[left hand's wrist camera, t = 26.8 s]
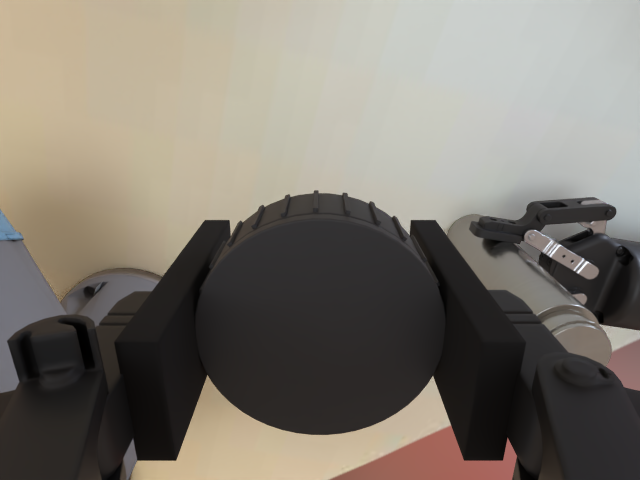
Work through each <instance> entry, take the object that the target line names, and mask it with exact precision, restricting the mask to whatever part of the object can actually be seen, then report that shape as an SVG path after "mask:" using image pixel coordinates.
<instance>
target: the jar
mask: <svg viewBox="0 0 640 480" xmlns="http://www.w3.org/2000/svg"><path fill="white" fill-rule="evenodd" d="M480 217H485V216H482V215H477V214H472V215H467V216H464V217H462V218H460V219H458V220H457V221H456V222H455V223H454V224H453V225H452V226H451V228H450V229H449V231H448V234H447V237H448V238H449V239H450V241H451V242H452V243H453V245H454V246H455V247H456V249H457V250H458V251H459V253H460V254H461V255H462V257H463V258H464V259H465V261H466V262H467V263H468V265H469V266H470V267H471V269H472V270H473V271H474V273H475V274H476V275H477V277H478V278H479V279H480V281H481V282H482V283H483V285H484V286H485V287H486V289H487V290H507V291H509V292H511V293H512V294H514V295H516V296H517V297H519V298H521V299H522V300H523V301H524V302H525V303H526V304H527V305H528V306H529V307H530V309H531V310H532V311H533V314H536V316H537V317H538V318H539V319H540V320H541V321H542V324H544V325H545V326H546V327H547V328H548V329H549V331H550V332H551V333H552V334H553V335H554V336H555V337H556V339H557V340H558V341H559V342H560V343H561V344H562V345H563V347H564V348H565V349H566V350H567V351H568V352H569V353H573V354H577V355H581V356H585V357H588V358H590V359H592V360H594V361H597V362H599V363H601V364H602V365H604V366H605V367H606V366H607V364H608V362H609V360H610V357H611V352H612V348H611V343H610V340H609V338H608V337H607V335H606V333H605V331H604V330H603V329H602V328H601V327H600V326H599V322H598V320H597V318H596V317H595V315H594V314H593V313H592V312H591V311H590V310H588V309H587V308H586V307H585V306H584V305H583V304H582V303H581V302H580V301H579V300H577V299H576V298H575V297H574V296H573V295H572V294H571V293H570V292H569V291H568V290H567V289H565V288H564V287H563V286H562V285H561V284H560V283H559V282H558V281H557V280H556V279H554V278H553V277H552V276H551V275H550V274H549V273H548V272H547V271H546V270H545V269H543V268H542V267H541V266H540V265H539V264H538V263H537V262H536V261H535V260H534V259H532V258H531V257H530V256H529V255H528V254H527V253H526V252H525V251H524V250H523V249H521V248H520V247H519V246H518V245H517V244H516V243H510V242H503V241H497V240H491V239H484V238H479V237H476V236H474V235H473V234H472V233H471V231H470V230H469V227H470V224H471V221H476V222H478V221H479V218H480Z"/></svg>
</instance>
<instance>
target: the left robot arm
mask: <svg viewBox="0 0 640 480" xmlns="http://www.w3.org/2000/svg"><path fill="white" fill-rule="evenodd" d="M411 235H413V236H414V237H415V239H416V240H417V242H418V244H419V246H420V248H421V250H422V251H423V253H424V255H425V257H426V259H427V261H428V263H429V265H430V267H431V269H432V270H433V272H434V274H435V276H436V278H437V280H438V281H439V284H440V286H438V288H439V291H440V294H441V297H442V300H443V303H444V308H445V314H446V325H445V334H444V343H443V351H442V356H441V360H440V362H439V364H438V366H437V369H436V371H435V373H434V374H433V376H434V379H435V382H436V385H437V387H438V390H439V393H440V396H441V398H442V401H443V404H444V407H445V409H446V412H447V415H448V418H449V420H450V423H451V426H452V429H453V431H454V434H455V437H456V439H457V442H458V445H459V448H460V450H461V453H462V456H463V459H464V460H503V457H504V452H505V447H506V442H507V437H508V439H509V441H510V443H511V445H512V447H513V449H514V451H515V453H516V455H517V459H516V464H515V469H514V473H513V478H512V480H640V391H637V390H632V389H628V388H625V387H623V385H622V383H621V381H620V380H619V379H618V377H617V376H616V375H615V374H614V372H613V371H611V370H610V369H608V368H607V367H605V366H604V365H602V364H601V363H599V362H597V361H594V360H592V359H590V358H588V357H585V356H581V355H577V354H573V353H569V352H568V351H567V350H566V349H565V348H564V347H563V345H562V344H561V343H560V342H559V341H558V340H557V339H556V337H555V336H554V335H553V334H552V333H551V332H550V331H549V329H548V328H547V327H546V326H545V325H544V324H542V321H541V320H540V319H539V318H538V317H537V316H536V314H533V311H532V310H531V309H530V307H529V306H528V305H527V304H526V303H525V302H524V301H523V300H522V299H521V298H519V297H517V296H516V295H514V294H512V293H511V292H509V291H507V290H487V289H486V287H485V286H484V285H483V283H482V282H481V281H480V279H479V278H478V277H477V275H476V274H475V273H474V271H473V270H472V269H471V267H470V266H469V265H468V263H467V262H466V261H465V259H464V258H463V257H462V255H461V254H460V253H459V251H458V250H457V249H456V247H455V246H454V245H453V243H452V242H451V241H450V239H449V238H448V237H447V235H446V234H445V233H444V231H443V230H442V229H441V227H440V226H439V225H438V223H437V222H436V220H411V226H410V236H411ZM230 237H231V235H230V222H229V220H205V221H204V222H203V224H202V225H201V226H200V228H199V229H198V230H197V232H196V233H195V234H194V236H193V237H192V238H191V240H190V241H189V242H188V244H187V245H186V246H185V248H184V249H183V250H182V252H181V253H180V254H179V256H178V257H177V258H176V260H175V261H174V262H173V264H172V265H171V266H170V268H169V269H168V270H167V272H166V273H165V274H164V276H163V277H160V276H158V275H156V274H153V273H150V272H147V271H142V270H137V269H129V268H116V269H109V270H104V271H101V272H97V273H95V274H93V275H90V276H89V277H87V278H85V279H84V280H82V281H81V282H79V283H78V284H77V285H76V286H75V287H74V288H73V289H72V290H71V291H70V292H68V293H67V295H66V296H65V297H64V298H63V300H62V301H61V303H60V302H59V300H58V299H57V297H56V295H55V294H54V292H53V291H52V289H51V287H50V286H49V284H48V283H47V281H46V279H45V278H44V276H43V275H42V273H41V271H40V270H39V268H38V267H37V265H36V263H35V262H34V260H33V258H32V257H31V255H30V253H29V251H28V250H27V248H26V246H25V245H24V243H23V241H22V240H24V239H23V236H22V235H21V233H19V232H16V231H15V229H14V228H13V226H12V225H11V224H10V222H9V221H8V219H7V218H6V217H5V215H4V214H3V212H2V211H1V210H0V480H130V475H131V473H132V471H133V468H134V466H135V464H136V462H137V460H176V459H177V457H178V454H179V451H180V448H181V446H182V443H183V440H184V438H185V435H186V432H187V429H188V427H189V424H190V421H191V418H192V416H193V413H194V410H195V407H196V405H197V402H198V399H199V396H200V394H201V391H202V388H203V385H204V383H205V380H206V377H207V373H206V371H205V369H204V367H203V364H202V362H201V360H200V357H199V354H198V347H197V338H196V330H195V311H196V306H197V301H198V298H199V296H200V293H199V289H200V287H201V286H202V284H203V282H204V280H205V278H206V276H207V275H208V273H209V271H210V268H209V266H210V264H211V263H212V261H213V259H214V257H215V255H216V254H217V252H218V250H219V248H220V246H221V245H222V243H223V241H225V242H227V241H228V240H229V238H230Z"/></svg>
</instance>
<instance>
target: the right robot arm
mask: <svg viewBox="0 0 640 480" xmlns="http://www.w3.org/2000/svg"><path fill="white" fill-rule="evenodd" d="M615 215H616V208H615V207H613V206H611V205H609V204H607V203H605V202H603V201H601V200H599V199H597V198H594V197H590V198H577V199H563V200H549V201H535V202H531V203H530V204H529V205H528V206H527V212H526V214H525V215H524V216H523V217H522V218H521V219H519V220H516V221H513V220H507V219H501V218H494V217H488V216H485V217H480V218H479V221H478V222H476V221H471V224H470V227H469V230H470V231H471V233H472V234H473V235H474V236H476V237H479V238H484V239H491V240H497V241H503V242H510V243H516V244H520V242H521V241H525V242H526V243H528V244H529V245H531V246H533V247H535V248H536V249H538V250H540V251H542V252H541V254H540V257H539V265H540V266H541V267H542V268H543V269H545V270H546V271H547V272H548V273H549V274H550V275H551V276H552V277H553V278H554V279H556V280H557V281H558V282H559V283H560V284H561V285H562V286H563V287H564V288H565V289H567V290H568V291H569V292H570V293H571V294H572V295H573V296H574V297H575V298H576V299H577V300H579V301H580V302H581V303H582V304H583V305H584V306H585V307H586V308H587V309H588V310H590V311H591V312H592V313H593V314H594V315H595V317H596V318H597V320H598V322H599V324H601V325H607V326H614V327H620V328H627V329H634V330H640V243H639V242H633V241H627V240H621V239H615V238H610V237H609V236H607V235H606V234H605V228H606V222H607V220H610V219H612V218H613V217H614V216H615ZM576 222H577V223H579V224H580V225H582V226H584V227H587V230H585V231H583V232H580V233H578V234H576V235H573V236H571V237H568V238H566V239H564V240H561V241H557V240H556V239H554V238H552V237H551V236H549V235H547V234H545V233H544V232H542V231H541V230H542V229H543V227H544V226H545V225H548V224H562V223H576Z"/></svg>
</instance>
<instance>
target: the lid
mask: <svg viewBox="0 0 640 480" xmlns="http://www.w3.org/2000/svg"><path fill="white" fill-rule="evenodd" d="M209 268H210V271H209V273H208V275H207V276H206V278H205V280H204V282H203V284H202V286H201V287H200V289H199V293H200V296H199V298H198V301H197V306H196V311H195V330H196V338H197V347H198V354H199V357H200V360H201V362H202V364H203V367H204V369H205V371H206V373H207V374H208V376H209V378H210V379H211V381H212V383H213V384H214V385H215V386H216V388H217V389H218V390H219V391H220V393H221V394H222V395H223V396H224V397H225V398H226V399H227V400H228V401H229V402H231V403H232V404H233V405H234V406H236V407H237V408H238V409H240V410H241V411H242V412H244V413H245V414H247V415H249V416H250V417H252V418H254V419H256V420H258V421H260V422H262V423H265V424H267V425H269V426H272V427H275V428H278V429H281V430H285V431H290V432H295V433H301V434H310V435H330V434H341V433H346V432H351V431H356V430H359V429H363V428H366V427H369V426H372V425H374V424H376V423H379V422H381V421H383V420H385V419H387V418H389V417H391V416H392V415H394V414H396V413H397V412H399V411H400V410H401V409H403V408H404V407H405V406H407V405H408V404H409V403H410V402H411V401H412V400H414V399H415V398H416V397H417V396H418V395H419V394H420V392H421V391H422V390H423V389H424V388H425V386H426V385H427V384H428V382H429V381H430V379H431V378H432V376H433V374H434V373H435V371H436V369H437V366H438V364H439V362H440V360H441V356H442V351H443V343H444V334H445V325H446V314H445V308H444V303H443V300H442V297H441V294H440V291H439V288H438V286H440V284H439V281H438V280H437V278H436V276H435V274H434V272H433V270H432V269H431V267H430V265H429V263H428V261H427V259H426V257H425V255H424V253H423V251H422V250H421V248H420V246H419V244H418V242H417V240H416V239H415V237H414V236H413V235H411V236H409V234H408V233H407V232H406V231H405V230H404V229H403V228H402V227H401V225H400V223H399V221H398V219H397V217H395V216H393V217H390V216H389V215H388V214H386V213H385V212H383V211H382V210H380V209H378V208H376V207H375V204H374V203H373V202H371V201H370V203H369V204H368V203H366V202H363V201H361V200H359V199H355V198H351V197H348V195H347V193H343V195H336V194H322V193H318V191H314V193H313V194H305V195H298V196H294V197H290V195H286V196H285V199H282V200H280V201H277V202H275V203H272V204H270V205H268V206H266V207H264V205H262V206H260V207H259V209H258V211H257V212H256V213H255V214H253V215H252V216H251V217H249V218H248V219H247V220H245V221H244V222H242V221H240V222H239V223H238V224H237V226H236V228H235V230H234V232H233V233H232V235H231V237H230V238H229V240H228V241H227V242H225V241H223V243H222V245H221V246H220V248H219V250H218V252H217V254H216V255H215V257H214V259H213V261H212V263H211V264H210V266H209Z"/></svg>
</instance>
